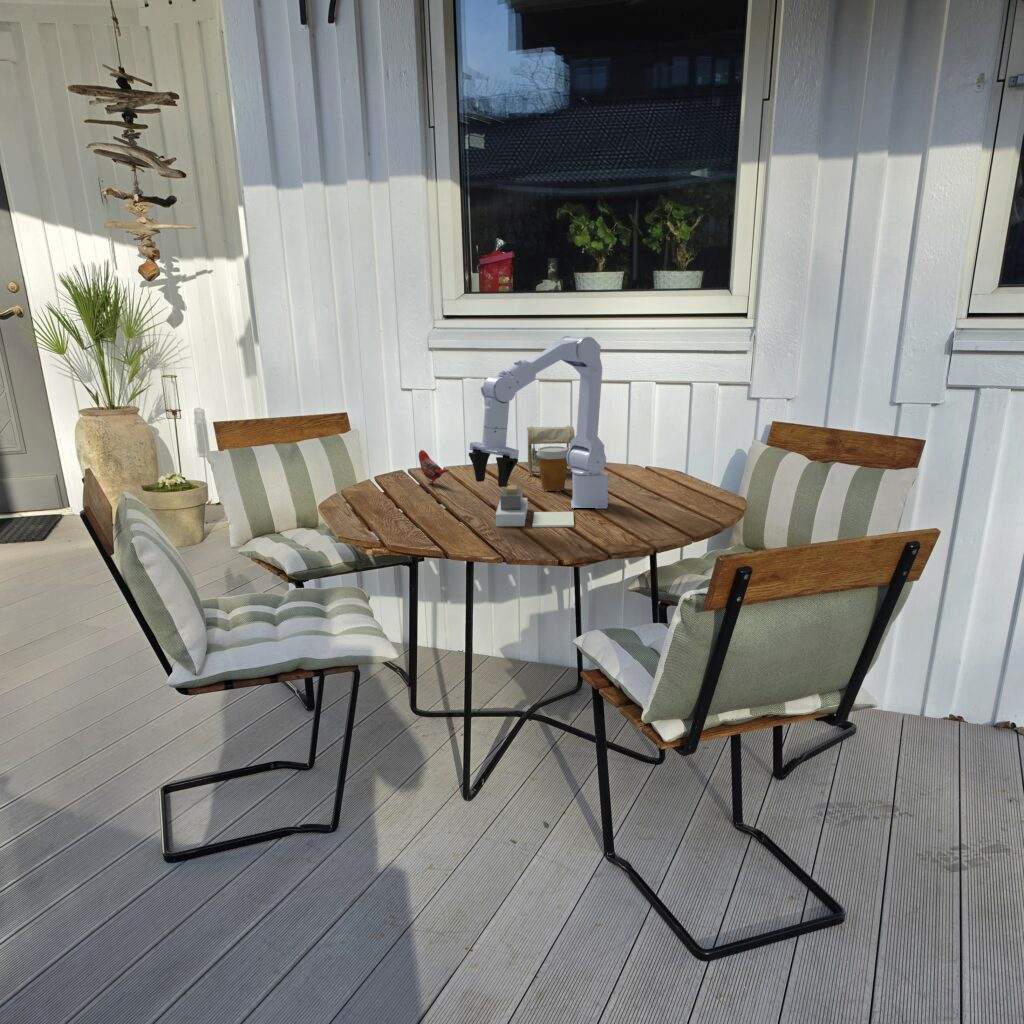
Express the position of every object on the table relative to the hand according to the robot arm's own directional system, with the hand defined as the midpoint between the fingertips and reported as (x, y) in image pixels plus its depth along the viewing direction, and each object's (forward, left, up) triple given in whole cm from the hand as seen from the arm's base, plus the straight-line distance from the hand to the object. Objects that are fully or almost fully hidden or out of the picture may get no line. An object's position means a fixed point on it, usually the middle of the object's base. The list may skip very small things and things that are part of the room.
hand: (491, 483), depth 181 cm
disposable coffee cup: (-14, -36, -11) cm, 41 cm away
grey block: (-4, -7, -8) cm, 11 cm away
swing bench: (-13, -59, -11) cm, 62 cm away
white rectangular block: (-4, -7, -11) cm, 14 cm away
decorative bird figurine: (+22, -43, -11) cm, 50 cm away
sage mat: (-15, -4, -11) cm, 19 cm away
